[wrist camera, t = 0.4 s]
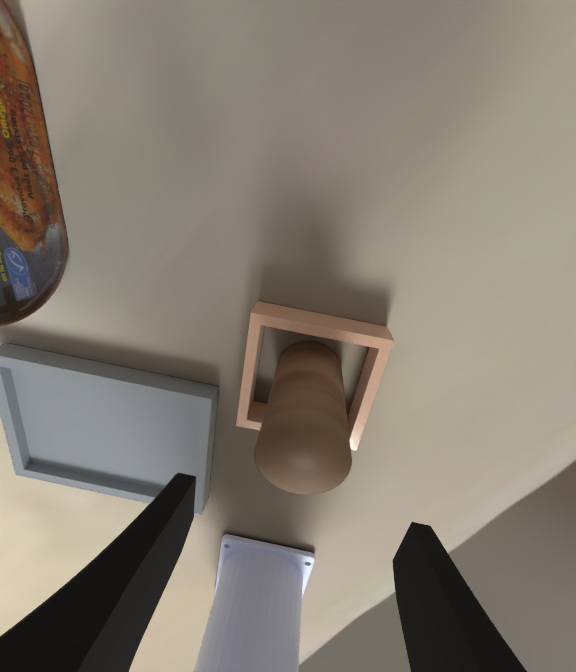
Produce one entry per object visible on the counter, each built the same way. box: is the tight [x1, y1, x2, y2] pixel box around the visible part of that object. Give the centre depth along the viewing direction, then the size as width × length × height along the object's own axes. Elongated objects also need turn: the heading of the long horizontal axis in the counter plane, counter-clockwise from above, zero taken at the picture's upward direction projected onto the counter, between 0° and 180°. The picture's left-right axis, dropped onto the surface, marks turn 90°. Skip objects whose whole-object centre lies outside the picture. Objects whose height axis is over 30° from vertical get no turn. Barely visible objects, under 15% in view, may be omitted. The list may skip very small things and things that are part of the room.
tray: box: [0, 343, 219, 515], centre depth 23 cm, size 11×15×2 cm
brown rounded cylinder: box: [254, 341, 352, 495], centre depth 16 cm, size 4×4×8 cm
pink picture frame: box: [236, 301, 394, 450], centre depth 19 cm, size 8×8×2 cm
